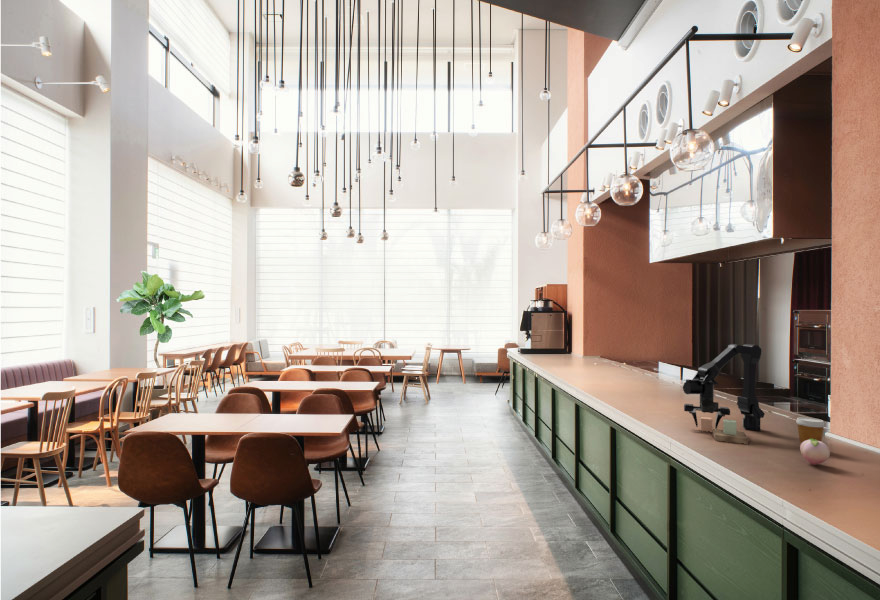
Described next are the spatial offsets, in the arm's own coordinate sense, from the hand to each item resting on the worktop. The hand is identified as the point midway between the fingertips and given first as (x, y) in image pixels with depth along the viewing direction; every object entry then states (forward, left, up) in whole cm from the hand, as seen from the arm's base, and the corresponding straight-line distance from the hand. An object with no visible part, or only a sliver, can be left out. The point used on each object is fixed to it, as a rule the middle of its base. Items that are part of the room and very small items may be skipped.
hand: (706, 427), depth 233 cm
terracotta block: (0, 0, -1) cm, 1 cm away
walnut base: (-8, +14, -1) cm, 16 cm away
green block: (-8, +14, +1) cm, 16 cm away
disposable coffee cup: (-36, +17, -1) cm, 40 cm away
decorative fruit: (-32, +42, -1) cm, 53 cm away
